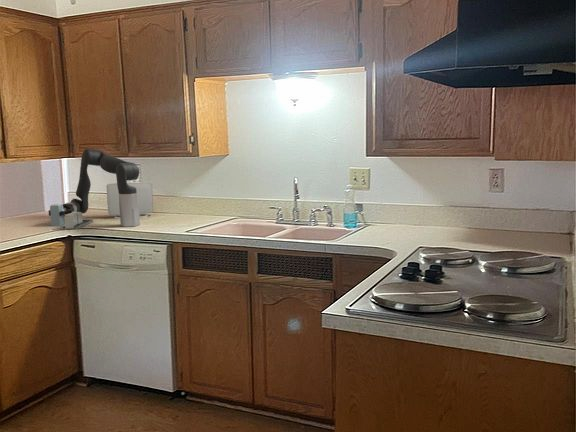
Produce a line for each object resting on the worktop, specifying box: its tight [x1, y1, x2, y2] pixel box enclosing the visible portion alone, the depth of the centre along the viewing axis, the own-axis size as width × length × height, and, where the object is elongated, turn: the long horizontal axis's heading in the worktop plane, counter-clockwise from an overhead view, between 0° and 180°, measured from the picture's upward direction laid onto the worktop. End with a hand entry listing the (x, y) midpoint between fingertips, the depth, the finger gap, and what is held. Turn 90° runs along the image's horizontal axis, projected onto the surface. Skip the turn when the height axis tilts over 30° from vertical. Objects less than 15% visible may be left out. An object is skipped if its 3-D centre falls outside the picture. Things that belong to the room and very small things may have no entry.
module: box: [49, 203, 65, 227], centre depth 316 cm, size 6×5×12 cm
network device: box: [105, 181, 154, 220], centre depth 342 cm, size 26×9×20 cm, turn 108°
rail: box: [61, 212, 94, 230], centre depth 313 cm, size 23×8×8 cm, turn 178°
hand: (55, 214), depth 313 cm, fingers open, 5 cm apart
